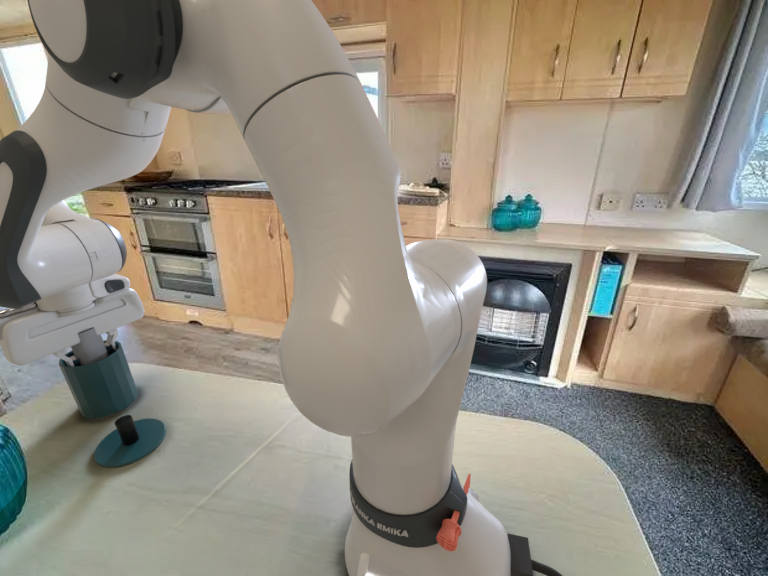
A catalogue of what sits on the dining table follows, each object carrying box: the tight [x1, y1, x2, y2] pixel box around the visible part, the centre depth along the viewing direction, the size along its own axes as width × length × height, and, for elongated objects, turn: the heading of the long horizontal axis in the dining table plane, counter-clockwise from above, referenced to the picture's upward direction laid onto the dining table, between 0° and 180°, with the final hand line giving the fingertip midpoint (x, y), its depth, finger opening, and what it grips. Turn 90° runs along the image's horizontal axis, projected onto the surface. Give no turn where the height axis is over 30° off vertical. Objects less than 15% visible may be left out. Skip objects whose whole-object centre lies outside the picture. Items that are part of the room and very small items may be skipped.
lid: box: [93, 414, 167, 469], centre depth 59 cm, size 10×10×6 cm
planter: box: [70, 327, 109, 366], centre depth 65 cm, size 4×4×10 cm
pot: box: [58, 339, 139, 419], centre depth 68 cm, size 9×9×12 cm
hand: (93, 358), depth 66 cm, fingers closed on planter, 4 cm apart
